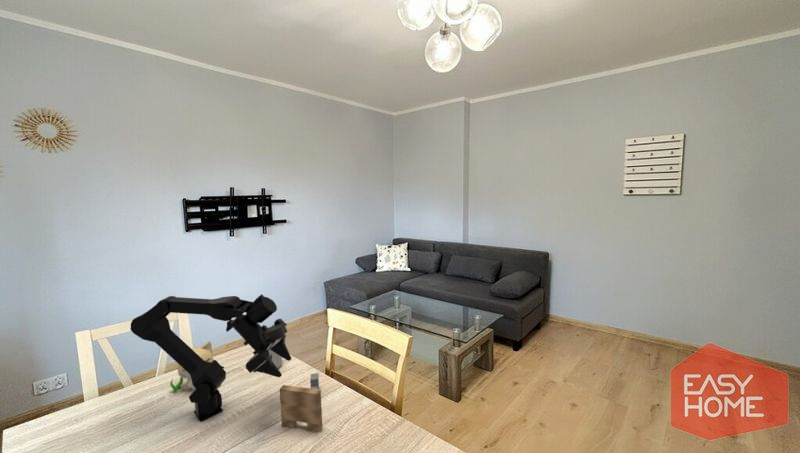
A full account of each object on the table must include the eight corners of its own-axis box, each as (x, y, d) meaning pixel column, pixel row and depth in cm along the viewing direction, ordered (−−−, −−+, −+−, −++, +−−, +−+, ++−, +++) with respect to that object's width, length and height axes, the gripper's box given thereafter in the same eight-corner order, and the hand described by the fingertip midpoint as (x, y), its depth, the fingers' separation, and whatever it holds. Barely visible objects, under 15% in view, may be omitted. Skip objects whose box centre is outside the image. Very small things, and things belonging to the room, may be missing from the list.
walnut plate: (281, 426, 97) (279, 389, 95) (285, 421, 99) (283, 384, 97) (319, 432, 94) (317, 394, 93) (322, 427, 96) (320, 389, 94)
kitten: (169, 400, 110) (165, 358, 108) (172, 384, 118) (168, 345, 116) (220, 385, 117) (217, 346, 115) (219, 372, 126) (216, 335, 124)
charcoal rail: (317, 413, 102) (316, 398, 102) (308, 414, 102) (308, 399, 101) (318, 386, 116) (318, 373, 115) (311, 387, 115) (310, 374, 115)
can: (268, 374, 124) (266, 344, 122) (258, 367, 128) (256, 338, 127) (286, 365, 130) (284, 336, 128) (275, 359, 134) (273, 331, 133)
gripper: (258, 328, 91) (296, 368, 92) (281, 304, 109) (312, 338, 111) (228, 352, 91) (266, 392, 93) (256, 324, 110) (287, 358, 111)
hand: (285, 367), depth 102 cm, fingers open, 9 cm apart
